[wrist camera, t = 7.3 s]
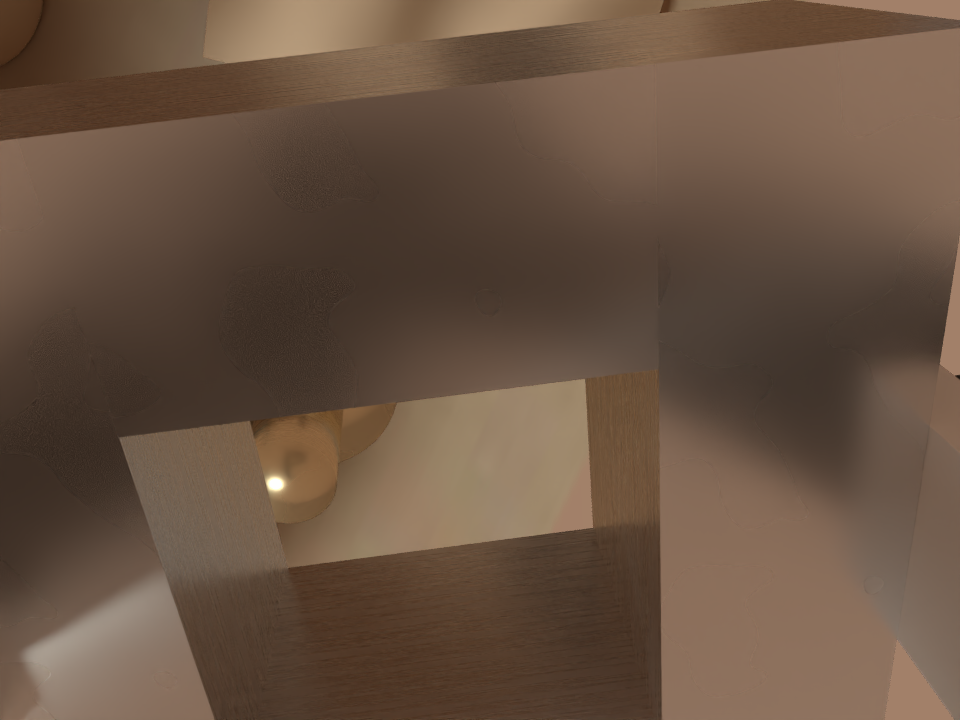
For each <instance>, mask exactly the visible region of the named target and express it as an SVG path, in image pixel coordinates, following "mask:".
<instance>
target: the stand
mask: <svg viewBox="0 0 960 720" xmlns="http://www.w3.org/2000/svg"><path fill="white" fill-rule="evenodd" d="M395 406H396V403H388V404H380V405H372V406H364V407H357V408H349V409H341V410H333V411H325V412H317V413H309V414H301V415H293V416H285V417H278V418H270V419H262V420H254V421H250V423H251V427H252V431H253V435H254V439H255V442H256V446H257V450H258V454H259V458H260V462H261V466H262V470H263V474H264V477H265V481H266V485H267V489H268V493H269V497H270V501H271V505H272V509H273V512H274V516H275V520H276V522H279V523H299V522H303V521H306V520H309V519H312V518H314V517H316V516H317V515H319V514H320V513H322V512H323V511H324V510H325V509H326V508H327V507H328V506H329V504H330V503H331V501H332V500H333V497H334V495H335V492H336V486H337V475H338V464H339V462H341V461H344V460H347V459H349V458H351V457H353V456H355V455H357V454H359V453H360V452H362V451H363V450H365V449H366V448H368V447H369V446H370V445H371V444H372V443H373V442H375V441H376V440H377V438H378V437H379V436H380V435H381V434H382V433H383V431H384V430H385V428H386V427H387V425H388V424H389V422H390V420H391V417H392V415H393V413H394V410H395Z"/></svg>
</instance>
